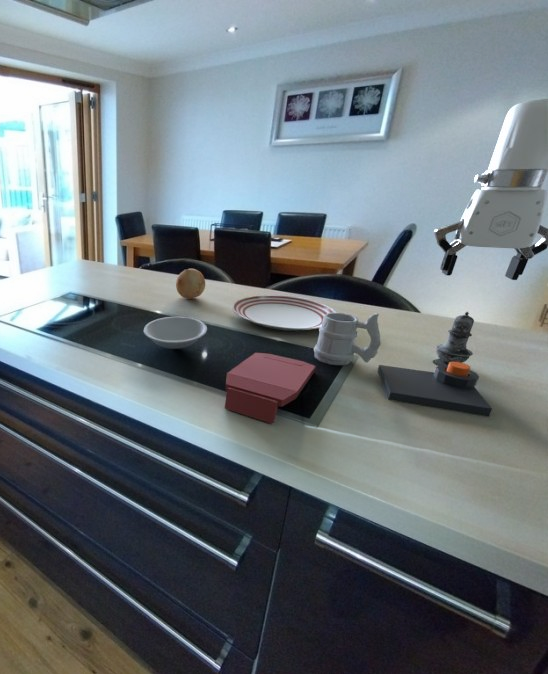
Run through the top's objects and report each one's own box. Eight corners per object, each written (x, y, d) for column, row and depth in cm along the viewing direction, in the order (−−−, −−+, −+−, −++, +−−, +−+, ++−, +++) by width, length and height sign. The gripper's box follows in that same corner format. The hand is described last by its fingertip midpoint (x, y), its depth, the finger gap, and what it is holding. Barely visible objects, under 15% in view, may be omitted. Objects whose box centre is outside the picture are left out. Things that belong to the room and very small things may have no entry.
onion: (193, 304, 126) (195, 273, 122) (169, 298, 133) (170, 269, 129) (210, 298, 132) (212, 268, 128) (186, 292, 139) (188, 264, 135)
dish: (189, 368, 85) (190, 347, 83) (131, 354, 92) (131, 334, 90) (214, 340, 98) (216, 322, 96) (162, 330, 106) (163, 313, 104)
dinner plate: (350, 341, 95) (353, 329, 94) (233, 333, 102) (234, 321, 101) (322, 307, 119) (324, 296, 118) (229, 302, 126) (230, 292, 125)
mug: (318, 348, 92) (328, 300, 87) (377, 362, 84) (392, 310, 80) (307, 359, 87) (317, 308, 82) (370, 375, 79) (384, 320, 75)
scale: (465, 384, 75) (471, 367, 74) (492, 418, 65) (500, 399, 63) (376, 370, 81) (380, 355, 80) (388, 400, 71) (393, 383, 69)
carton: (253, 371, 90) (213, 404, 70) (257, 351, 88) (217, 379, 69) (311, 386, 83) (285, 427, 63) (316, 364, 82) (291, 400, 62)
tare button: (464, 371, 73) (467, 363, 73) (470, 378, 71) (473, 369, 70) (444, 368, 74) (446, 360, 74) (449, 375, 72) (452, 367, 71)
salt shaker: (434, 356, 86) (452, 305, 82) (469, 365, 82) (490, 311, 77) (427, 364, 83) (445, 311, 78) (463, 374, 79) (484, 318, 74)
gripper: (457, 182, 69) (427, 276, 76) (595, 181, 62) (549, 285, 69) (444, 181, 75) (417, 268, 82) (568, 180, 68) (528, 275, 75)
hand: (477, 276), depth 75 cm, fingers open, 9 cm apart
